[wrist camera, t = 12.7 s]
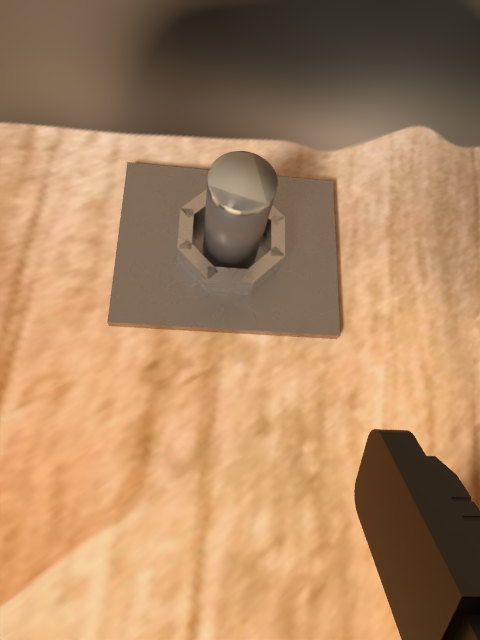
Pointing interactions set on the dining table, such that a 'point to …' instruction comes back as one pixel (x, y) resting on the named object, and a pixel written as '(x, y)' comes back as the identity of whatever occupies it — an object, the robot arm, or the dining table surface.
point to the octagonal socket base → (219, 282)
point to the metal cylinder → (237, 208)
